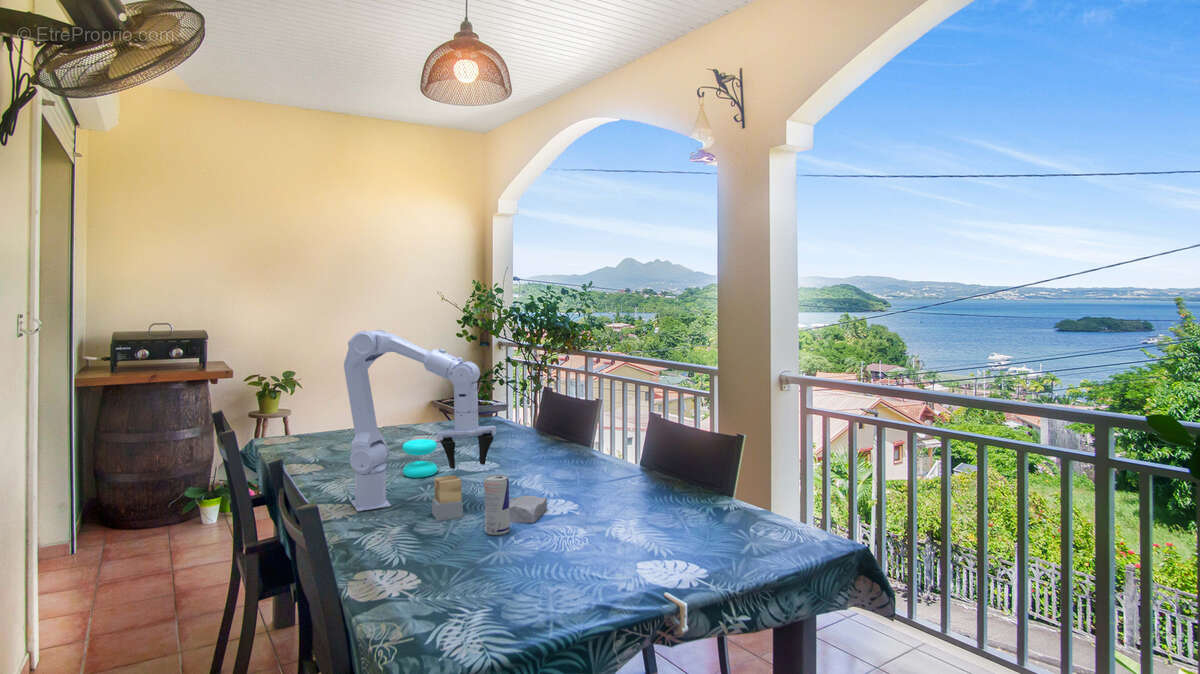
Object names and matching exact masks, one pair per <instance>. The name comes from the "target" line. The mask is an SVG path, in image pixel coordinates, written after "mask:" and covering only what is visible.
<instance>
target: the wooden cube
mask: <svg viewBox="0 0 1200 674" xmlns="http://www.w3.org/2000/svg"><path fill="white" fill-rule="evenodd" d="M433 481H434V485H433V486H434V498H435V499H436V500H437V501H438V502H439V503H440V504H443V503H449V502H455V501H461V500H462V479H461V478H459V477H458V476H456V474H453V475H446V476H439V477H434V479H433ZM462 501H463V500H462Z"/></svg>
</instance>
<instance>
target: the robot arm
mask: <svg viewBox="0 0 1200 674" xmlns="http://www.w3.org/2000/svg"><path fill="white" fill-rule="evenodd" d="M347 344H348V345H347V346H348V349H347V351H346V356H345V359H344V362H343V370H344V375H345V381H346V382H345V383H346V389H347V394H348V400H349V407H350V411H351V417H352V418H351V419H352V422H353V423H352V424H353V430H354V437H353V439H352V441H351V443H350V448H351V452H350V455H349V463H350V464H349V465H350V466H351V468H352V469H353V471H354V499H352V500H350V503H351V505H352V506H353V507H355V508H354V509H355V510H356V512H363V511H364V510H365V511H369V510H376V509H383V508H389V507H391V503H390V502H389V501H388V500H387V485H386V483H387V482H386V479H387V477H386V462H387V461H388V460H389V458H390V455H391V454H390V448H389V446H388V445H387V443H386V442H385V439H384V435H383V434H382V433H381V432H380V431H379V429H378V424H377V419H376V418H377V417H376V411H375V405H374V400H373V393H372V388H371V382H370V381H371V380H370V377H369V376H370V375H369V368H370V367H371V365H372V364H373V363H374V362H375V361H376V360H377V359H378V358H381V357H382V356H383V355H385V354H387V353H396V354H398V355H402V356H404V357H407V358H409V359H410V360H413V361H414V360H415V361H417V362H419V363H422V364H423V366H424V369H425V370H426V371H428V372H430V373H432V374H434V375H437V376H440V377H442V378H444V379H446V380H447V381H448V380H449V381H451V383H452V385H453V401H454V403H453V405H454V406H453V407H454V408H453V409H454V412H453V413H454V416H453V417H454V428H450V429H444V430H438V431H435V432H436V434H435V435H436V436H435V437H436V440H437V441H439V442H440V444H441V446H442V447H443V449H444V453H445V454H446V457H447V460H448V466H449V468H450V469H451V470H455V468H456V460H455V459H456V458H455V454H456V453H455V449H456V442H455V441H454V439H460V438H467V437H469V438H470V437H477V440H478V448H479V449H478V450H479V451H478V452H479V455H478V456H479V457H478V461H479V464H480V465H482V466H483V465H484V466H485V465H486V460H487V456H488V454H489V453H488V452H489V449H490V447H491V444H492V443H493V441H494V435H496V434H497V426H496V425H483V426H482V425H479V393H478V381H479V379H480V377H481V371H480V368H479V366H478V365H477V364H476V363H475V362H473V361H471V360H467V361H464V358H463V357H461V356H459V357H455V356H453V355H452V354H449V353H448V352H447V350H446V349H444V348H440V349H438V348H434V349H431V350H430V351H429V350H427V349H425V348H423V347H421V346H419V345H417V344H415V343H412V342H411V341H409V340H407V339H404V338H403V337H401V336H398V335H397V334H394V333H391V332H386V331H385V330H382V329H381V330H380V329H377V330H371V331H370V330H367V331H366V330H361V331H358V332H356V333H355V334H354V335H353V336H352V337H351V338H350V339H349V340H348V342H347Z"/></svg>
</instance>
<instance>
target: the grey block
mask: <svg viewBox="0 0 1200 674" xmlns="http://www.w3.org/2000/svg"><path fill="white" fill-rule="evenodd" d="M463 502H464V501H463V500H461V501H455V502H449V503H443V504H440V503H439V502H438V501H437V500H436V499H435V497H432V498H431V511H432V512H431V514H432V516H433V517H434V519H435V520H436V521H437V522H441V521H446V520H454V519H460V518H463V517H464V506H463V505H464V503H463Z"/></svg>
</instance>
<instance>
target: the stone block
mask: <svg viewBox="0 0 1200 674" xmlns="http://www.w3.org/2000/svg"><path fill="white" fill-rule="evenodd" d="M547 509H548V498H547V497H546V496H545V497H539V496H535V495H523V496H520V497H519V496H517V497H514V498H511V499H510V498H509V521H510V524H535V523H536V522H537V521H538V520H539V519H540V518H541V516H542V515H543V514H544V513H545V512H546V511H547Z"/></svg>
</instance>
